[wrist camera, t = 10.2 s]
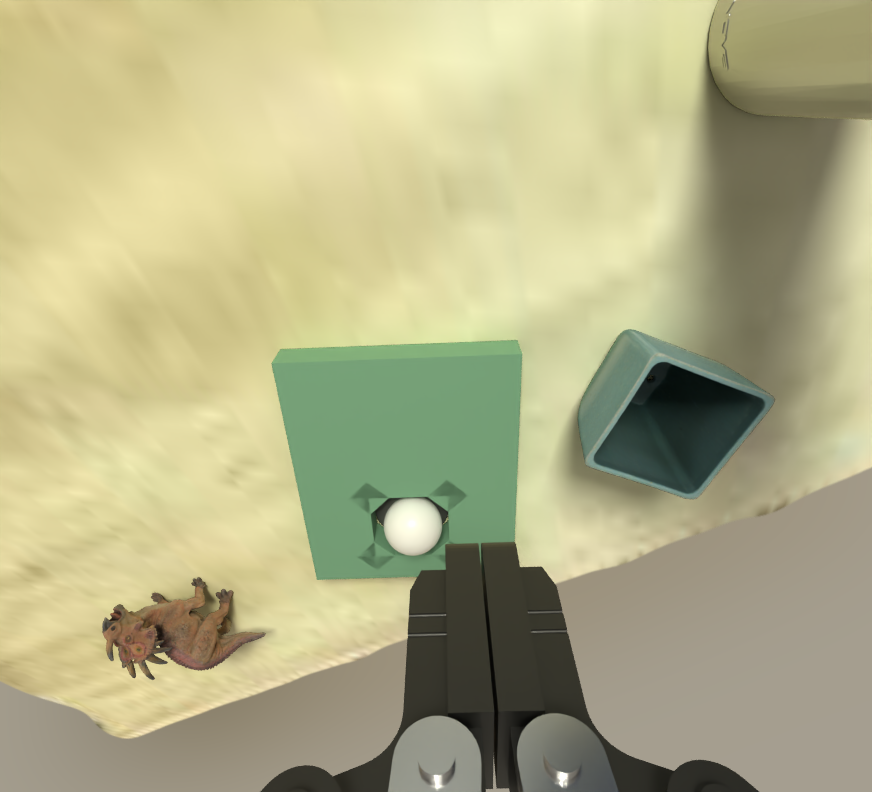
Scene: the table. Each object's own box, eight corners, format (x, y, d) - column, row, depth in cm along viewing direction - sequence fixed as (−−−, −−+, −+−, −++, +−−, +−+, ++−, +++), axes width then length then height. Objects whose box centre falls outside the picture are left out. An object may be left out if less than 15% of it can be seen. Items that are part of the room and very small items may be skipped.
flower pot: (649, 432, 44) (696, 503, 36) (555, 399, 43) (582, 466, 35) (712, 341, 40) (780, 399, 32) (610, 301, 39) (655, 351, 31)
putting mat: (517, 340, 40) (522, 353, 38) (509, 553, 51) (513, 573, 49) (280, 349, 40) (271, 363, 38) (322, 559, 51) (317, 579, 49)
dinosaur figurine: (125, 587, 53) (69, 675, 45) (147, 552, 51) (91, 638, 43) (250, 639, 57) (219, 728, 49) (275, 609, 55) (247, 697, 46)
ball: (443, 553, 47) (440, 496, 48) (443, 554, 42) (440, 491, 44) (387, 556, 47) (386, 499, 48) (381, 558, 42) (379, 494, 44)
